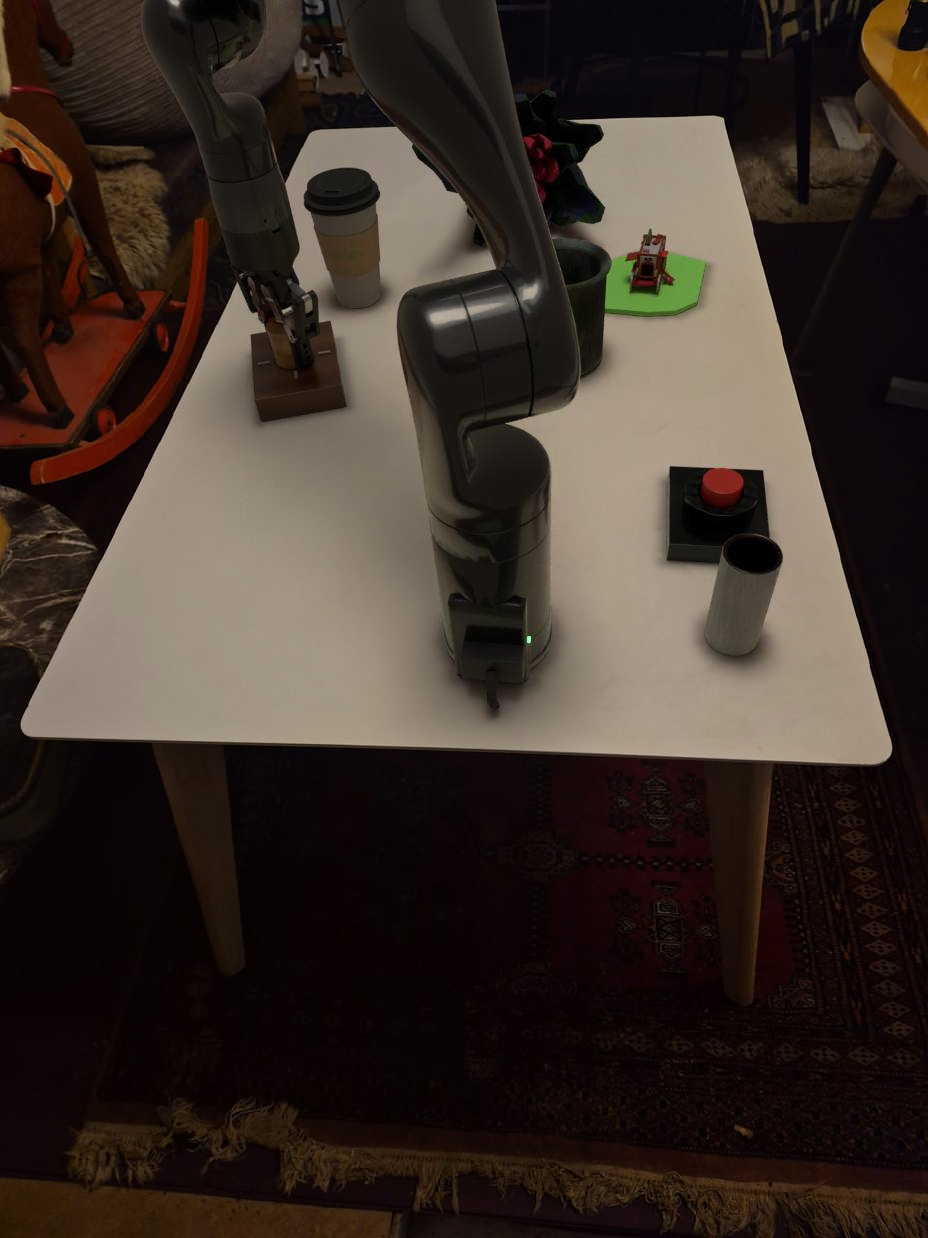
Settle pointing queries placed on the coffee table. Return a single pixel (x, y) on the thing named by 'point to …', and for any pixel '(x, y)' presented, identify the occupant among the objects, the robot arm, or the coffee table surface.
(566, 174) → the decorative plant
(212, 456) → the coffee table surface
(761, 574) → the planter
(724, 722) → the coffee table surface
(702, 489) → the button
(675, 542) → the button block
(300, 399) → the panel
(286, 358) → the knob
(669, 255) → the toy diorama
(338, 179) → the coffee cup
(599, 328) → the mug
